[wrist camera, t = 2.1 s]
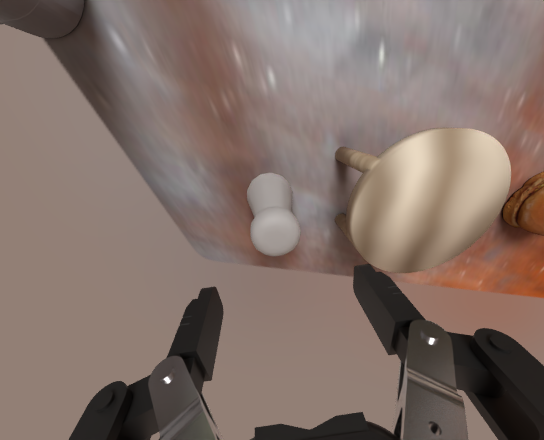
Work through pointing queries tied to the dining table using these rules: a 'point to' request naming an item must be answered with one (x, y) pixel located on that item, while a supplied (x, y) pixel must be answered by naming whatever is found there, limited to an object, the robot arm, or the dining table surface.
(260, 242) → the salt shaker
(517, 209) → the burger
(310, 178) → the dining table surface
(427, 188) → the stool
